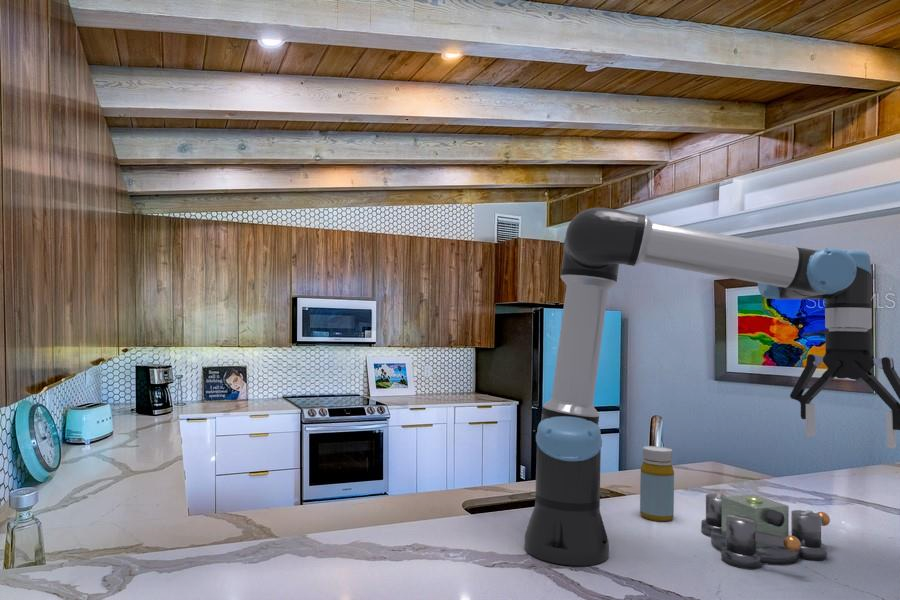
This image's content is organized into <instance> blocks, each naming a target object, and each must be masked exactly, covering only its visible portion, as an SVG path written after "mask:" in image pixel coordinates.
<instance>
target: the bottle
mask: <svg viewBox="0 0 900 600" xmlns="http://www.w3.org/2000/svg"><path fill="white" fill-rule="evenodd" d="M672 460H673V449H672V448H669V447H665V446H658V445H657V446H656V445H646V446H643V447H642V464H641V467H640V483H639V484H640V487H639V489H640V490H639V491H640V493H639V513H640V515H641V516H642V518H644V519H646V520H649V521H652V522H653V521H654V522H660V523H661V522H665V523H666V522H670V521H671V520H673V518H674V512H675V506H674V505H675V502H674V501H675V499H674V498H675V471H674V467H673V461H672Z"/></svg>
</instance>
